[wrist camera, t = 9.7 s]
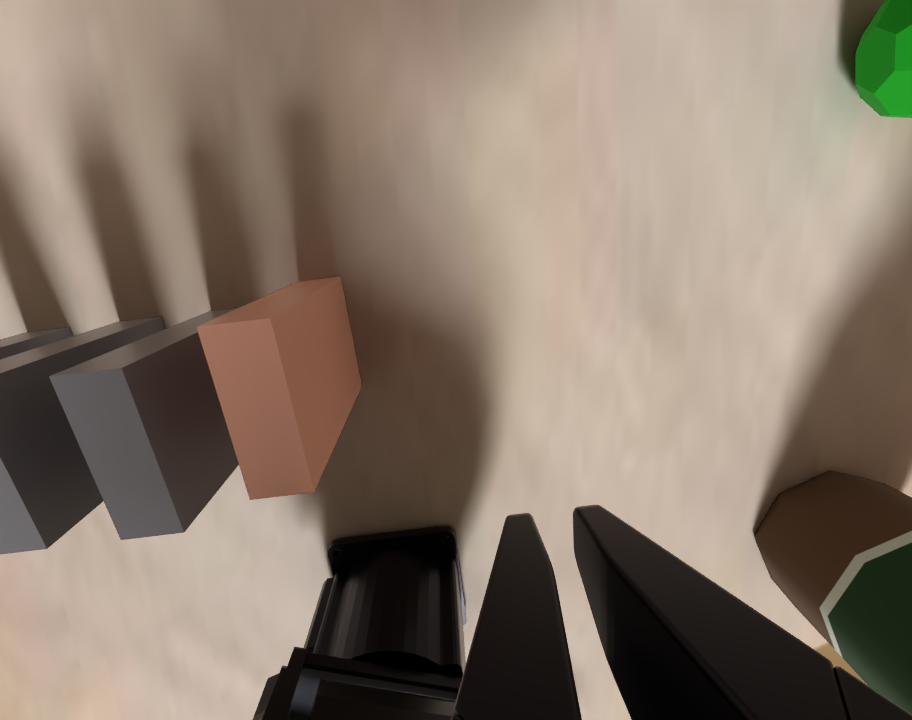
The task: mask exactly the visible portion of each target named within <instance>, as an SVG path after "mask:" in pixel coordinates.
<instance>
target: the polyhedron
mask: <svg viewBox="0 0 912 720" xmlns="http://www.w3.org/2000/svg"><path fill="white" fill-rule="evenodd" d="M855 85H856V87H857V90H858V93H859V95H860V98H862V99H863V100H864V101H865V102H866V103H867V104H868V105H869V106H870V107H872V108H873V109H874V110H875V111H876V112H877V113H878V114H879V115H880V116H888V117H905V118H912V0H884V2H883V3H882V5H881V6H880V8H879V10H878V11H877V13H876V14H875V16H874V17H873V19H872V21H871V22H870V24H869V25H868V27H867V28H866V30H865V31H864V33H863V35H862V36H861V39H860V42H859V45H858V47H857V50H856V59H855Z"/></svg>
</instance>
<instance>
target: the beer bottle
mask: <svg viewBox="0 0 912 720" xmlns="http://www.w3.org/2000/svg"><path fill="white" fill-rule="evenodd" d="M755 540H756V543H757V545H758V548H759V550H760V552H761V555H762V557H763V560H764V562H765V565H766V567H767V570H768V572H769V574H770V577H771V579H772V580H773V581H774V582H775V583H776V585H777V586H778V587H779V588H780V589H781V591H782V592H783V593H784V594H785V595H786V596H787V598H788V599H789V600H790V601H791V602H792V604H793V605H794V606H795V607H796V608H797V609H798V610H799V611H800V613H801V614H802V615H803V616H804V617H805V618H806V619H807V620H808V621H809V622H810V623H811V624H812V625H813V626H814V628H815V629H816V630H817V631H818V632H819V633H820V634H821V635H822V636H823V637H824V638H825V639H826V640H827V642H828V643H829V644H830V645H831V646H832V647H833V648H834V649H835V650H836V651H837V652H838V653H839V654H840V655H841V657H842V658H843V659H844V660H845V661H846V662H847V663H848V664H849V665H850V666H851V667H852V668H853V669H854V670H855V672H856V673H857V674H858V675H859V676H860V677H861V678H862V679H863V680H864V681H865V682H866V683H867V685H868V686H869V687H871V688H872V689H873V690H875V691H876V692H878V693H879V694H881V695H882V696H884V697H886V698H887V699H889V700H890V701H892V702H893V703H895V704H896V705H898V706H899V707H901V708H902V709H904V710H905V711H907V712H908V713H910V714H912V498H911V497H909V496H907V495H905V494H904V493H902V492H900V491H898V490H896V489H894V488H892V487H890V486H888V485H886V484H884V483H880V482H876V481H872V480H868V479H863V478H859V477H855V476H851V475H847V474H843V473H839V472H833V471H828V472H826V473H824V474H822V475H820V476H818V477H816V478H813V479H811V480H809V481H807V482H805V483H803V484H800V485H798V486H796V487H794V488H792V489H790V490H788V491H785V492H783V493H781V494H779V495H778V497H777V499H776V500H775V502H774V504H773V505H772V507H771V509H770V511H769V512H768V514H767V516H766V517H765V519H764V521H763V522H762V524H761V526H760V528H759V529H758V531H757V533H756V534H755Z"/></svg>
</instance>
